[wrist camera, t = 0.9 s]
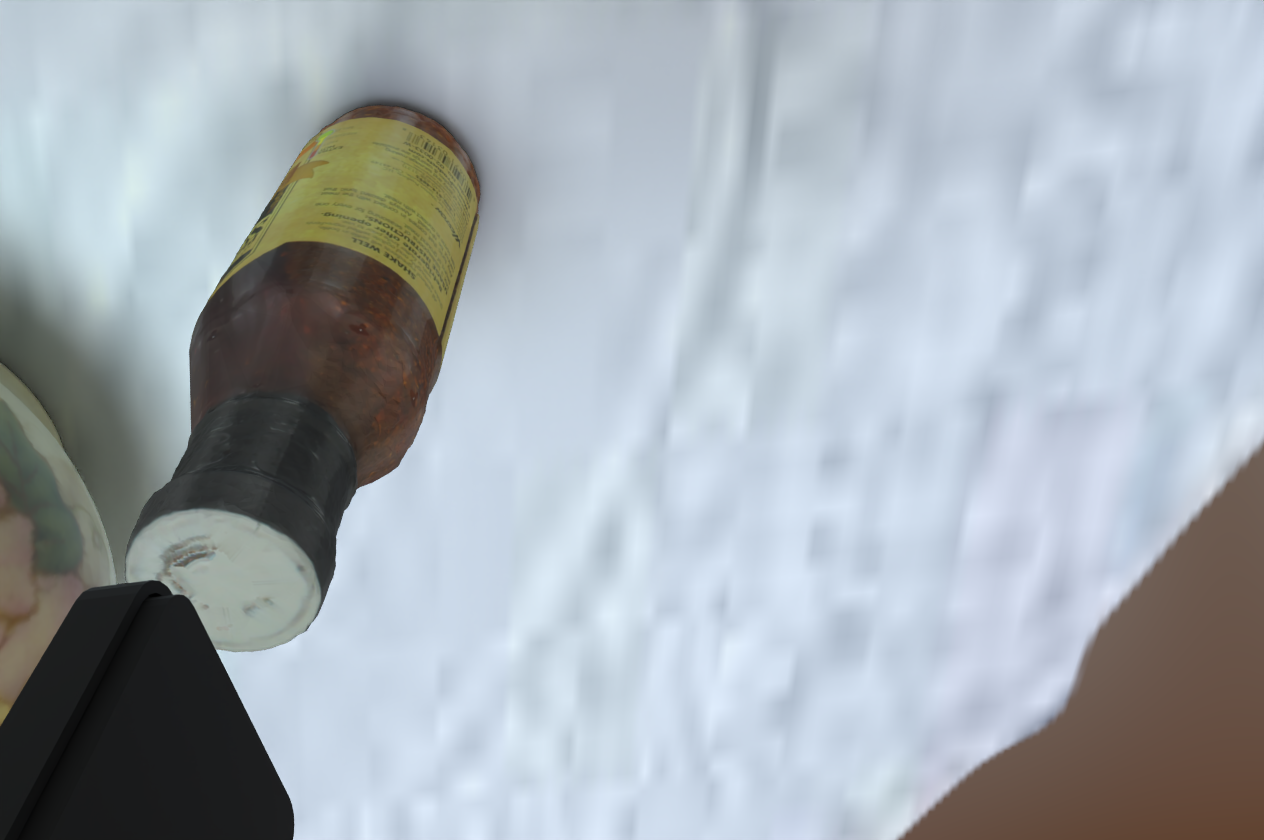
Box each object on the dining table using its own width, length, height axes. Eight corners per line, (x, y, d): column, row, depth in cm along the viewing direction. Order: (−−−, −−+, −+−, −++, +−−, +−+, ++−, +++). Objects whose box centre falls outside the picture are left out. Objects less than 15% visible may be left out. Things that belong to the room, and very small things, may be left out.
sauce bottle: (292, 93, 38) (14, 425, 22) (483, 100, 38) (354, 437, 22) (315, 275, 42) (92, 680, 25) (490, 281, 42) (383, 690, 25)
